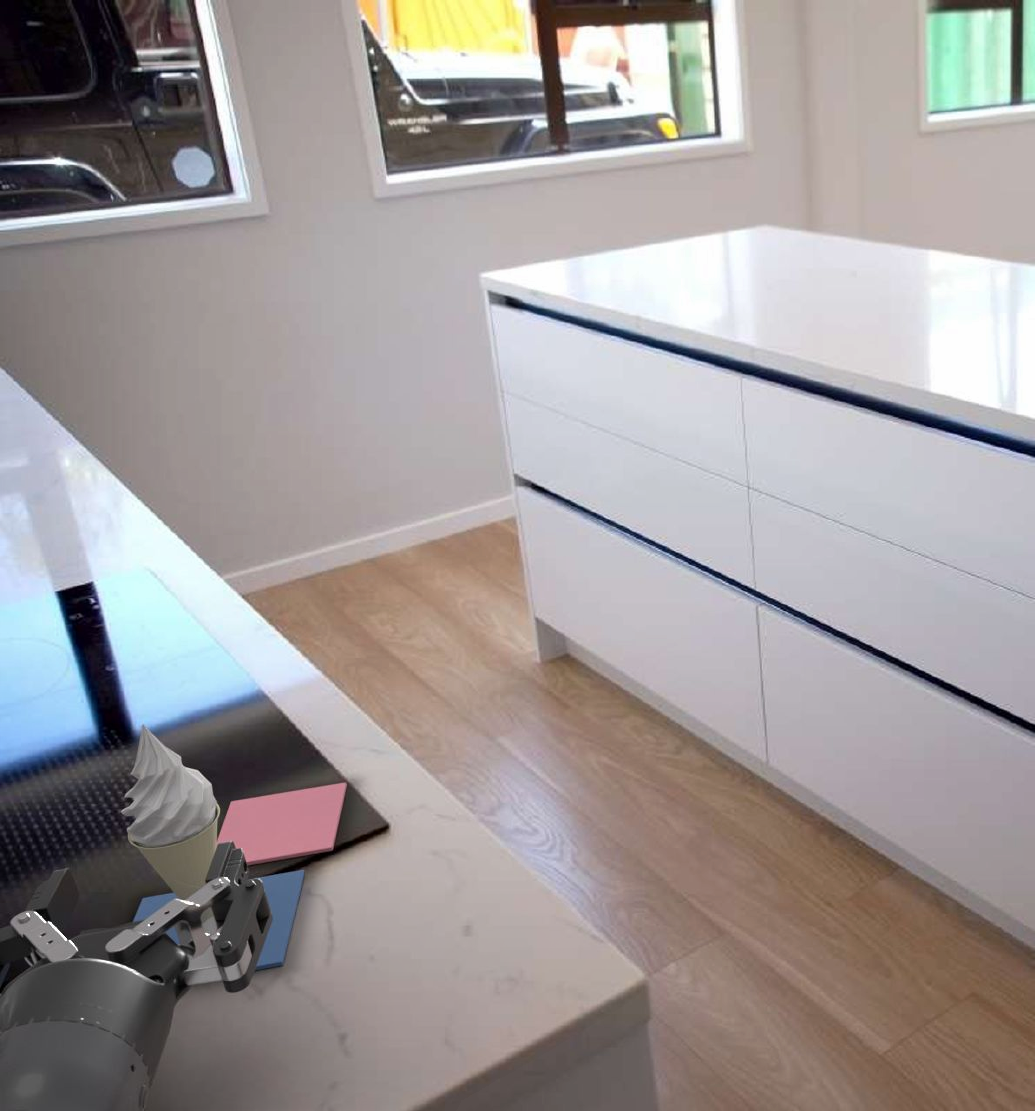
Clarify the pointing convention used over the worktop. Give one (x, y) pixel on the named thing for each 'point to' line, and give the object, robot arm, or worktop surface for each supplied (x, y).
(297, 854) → the rose mat
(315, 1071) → the worktop surface
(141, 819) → the ice cream cone
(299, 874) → the blue mat
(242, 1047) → the worktop surface
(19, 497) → the worktop surface
